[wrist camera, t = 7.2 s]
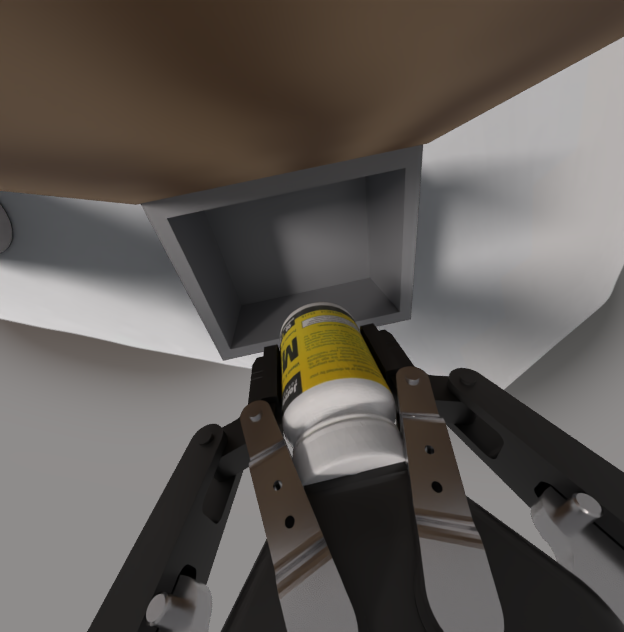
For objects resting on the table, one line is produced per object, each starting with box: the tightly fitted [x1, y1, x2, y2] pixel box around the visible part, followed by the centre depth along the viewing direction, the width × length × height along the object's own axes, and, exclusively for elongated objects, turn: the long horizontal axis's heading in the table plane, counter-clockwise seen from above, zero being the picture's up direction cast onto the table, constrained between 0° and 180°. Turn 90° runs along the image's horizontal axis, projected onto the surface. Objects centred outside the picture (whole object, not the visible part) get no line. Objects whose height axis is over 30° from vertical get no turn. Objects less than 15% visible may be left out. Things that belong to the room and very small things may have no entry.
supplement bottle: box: [280, 302, 406, 487], centre depth 11 cm, size 5×5×8 cm
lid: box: [0, 0, 624, 205], centre depth 9 cm, size 21×15×1 cm
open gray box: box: [141, 145, 423, 361], centre depth 24 cm, size 20×15×10 cm
